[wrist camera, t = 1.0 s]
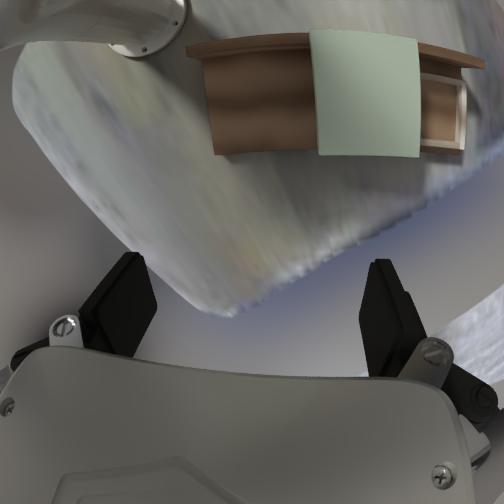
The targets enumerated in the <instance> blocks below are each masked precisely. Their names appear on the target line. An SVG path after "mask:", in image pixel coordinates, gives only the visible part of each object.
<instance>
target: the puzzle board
mask: <svg viewBox="0 0 504 504" xmlns="http://www.w3.org/2000/svg"><path fill="white" fill-rule="evenodd" d="M417 43H418V42H417ZM418 53H419V66H420V88H421V129H420V151H419V152H431V153H442V154H452V155H459V152H460V149H462V150H464V146H465V132H466V82H465V81H462V78H461V68H477V69H485V65H484V60H483V59H480V58H477V57H474V56H471V55H467V54H464V53H461V52H457V51H453V50H449V49H446V48H441V47H437V46H433V45H428V44H423V43H418ZM186 54H187V57H190V58H194V59H198V60H202V67H203V75H204V83H205V90H206V98H207V105H208V112H209V119H210V126H211V133H212V140H213V147H214V154H215V155H224V154H234V153H246V152H259V151H275V150H297V149H318V144H317V123H316V107H315V93H314V80H313V69H312V58H311V49H310V40H309V33H283V34H268V35H256V36H247V37H239V38H231V39H224V40H218V41H212V42H206V43H201V44H196V45H191V46H187V47H186Z"/></svg>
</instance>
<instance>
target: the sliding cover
mask: <svg viewBox="0 0 504 504" xmlns="http://www.w3.org/2000/svg"><path fill="white" fill-rule="evenodd" d="M309 40H310V49H311V58H312V69H313V80H314V93H315V107H316V123H317V144H318V153H319V155H371V156H399V157H416V158H419V151H420V129H421V88H420V66H419V53H418V43H417V39H413V38H407V37H401V36H395V35H388V34H380V33H371V32H361V31H347V30H309Z"/></svg>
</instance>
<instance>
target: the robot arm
mask: <svg viewBox="0 0 504 504" xmlns="http://www.w3.org/2000/svg"><path fill="white" fill-rule="evenodd" d="M186 13H187V4H186V0H0V51H1V50H4V49H6V48H9V47H12V46H15V45H19V44H23V43H28V42H36V41H79V42H95V43H106V44H108V45H109V46H110V48H111V49H112V50H114V51H115V52H116V53H118V54H120V55H124V56H128V57H142V56H146V55H150V54H153V53H155V52H157V51H159V50H160V49H162V48H164V47H165V46H166V45H168V44H169V43H170V42H171V41H172V40H173V39H174V38H175V37H176V35H177V34H178V33H179V31H180V29H181V28H182V26H183V23H184V21H185V17H186ZM176 23H178V25H177V26H176ZM146 49H147V51H146ZM156 311H157V302H156V299H155V296H154V292H153V289H152V285H151V282H150V278H149V275H148V271H147V267H146V264H145V260H144V257H143V256H141V255H140V253H139V252H126V253H124V255H123V256H122V257H121V258H120V260H118V262H117V263H116V264H115V265H114V266H113V268H112V269H111V270H110V271H109V273H108V274H107V275H106V276H105V278H104V279H103V280H102V281H101V282H100V284H99V285H98V286H97V287H96V289H95V290H94V291H93V293H92V294H91V295H90V296H89V298H88V299H87V300H86V302H85V303H84V304H83V306H82V307H81V308H80V309H79V311H78V312H79V314H80V316H79V318H77V317H76V316H73V315H66V316H63V317H61V318H59V319H57V320H56V321H55V322H54V323H53V324H52V325H51V327H50V330H49V337H47V338H45V339H43V340H41V341H38V342H36V343H34V344H32V345H29V346H27V347H25V348H22V349H21V350H18V351H17V352H16V353H15V355H14V356H13V357H12V360H11V367H10V368H9V366H8V365H7V366H6V367H4V368H3V369H2V370H0V504H493V503H494V502H495V500H496V499H497V498H498V497H499V496H500V494H501V493H502V492H503V491H504V408H502V409H501V410H500V409H499V408H498V407H497V406H498V397H497V394H496V392H495V391H494V389H493V388H491V386H489V385H488V384H486V383H485V382H483V381H481V380H480V379H478V378H477V377H475V376H473V375H472V374H470V373H468V372H467V371H465V370H464V369H462V368H460V367H459V366H457V365H455V364H454V363H453V360H454V354H453V351H452V349H451V347H450V346H449V345H448V344H447V343H446V342H445V341H443V340H441V339H439V338H434V337H429V338H428V337H427V335H426V332H425V330H424V327H423V324H422V322H421V320H420V317H419V315H418V312H417V310H416V307H415V305H414V303H413V301H412V298H411V296H410V294H409V292H407V291H404V289H403V286H402V284H401V282H400V280H399V277H398V275H397V273H396V271H395V269H394V266H393V264H392V262H391V260H390V259H376V260H375V262H371V264H370V268H369V272H368V277H367V282H366V286H365V291H364V296H363V299H362V304H361V308H360V312H359V324H360V329H361V334H362V339H363V344H364V350H365V355H366V361H367V367H368V373H369V377H308V376H279V375H262V374H248V373H235V372H226V371H216V370H207V369H199V368H192V367H184V366H177V365H170V364H164V363H158V362H152V361H146V360H140V359H136V358H133V356H134V354H135V352H136V350H137V348H138V346H139V344H140V342H141V340H142V338H143V336H144V334H145V332H146V330H147V328H148V326H149V324H150V322H151V320H152V319H153V317H154V315H155V313H156Z"/></svg>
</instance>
